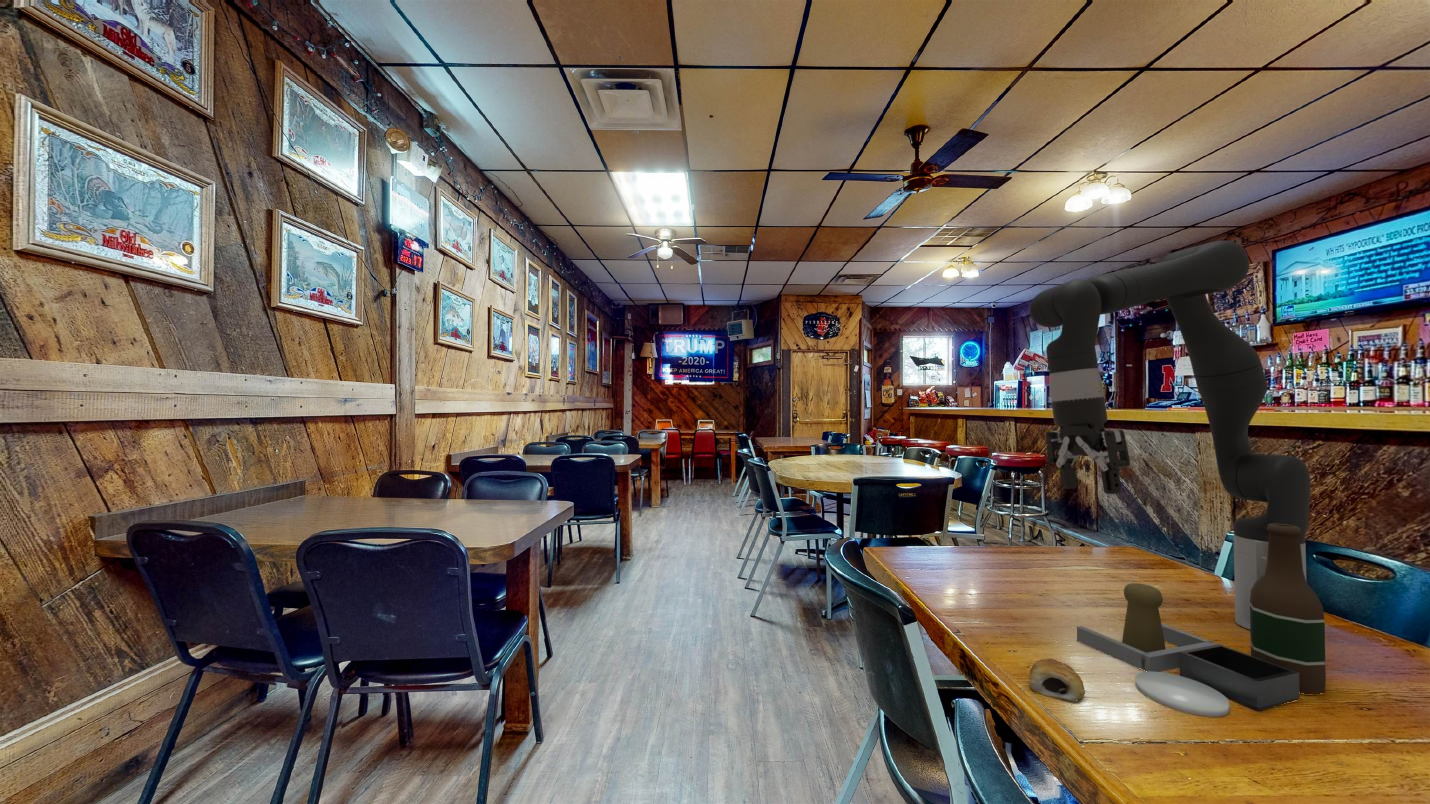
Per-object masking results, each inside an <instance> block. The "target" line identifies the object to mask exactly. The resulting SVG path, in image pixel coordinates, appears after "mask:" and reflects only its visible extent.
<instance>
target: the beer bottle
mask: <svg viewBox="0 0 1430 804" xmlns="http://www.w3.org/2000/svg"><path fill="white" fill-rule="evenodd" d="M1266 530H1267V531H1269V542H1268V556H1267V566H1266V570H1265V574H1264V575H1263V576H1262V577H1260V578H1259V579H1258V580H1257V581H1256V582H1255V584H1254V586H1253V587H1252V589H1251V594H1250V631H1249V632H1250V634H1249V636H1250V655H1251V656H1254V657H1257V658H1260V659H1262V660H1265V661H1268V662H1271V663H1274V664H1276V665H1279V666H1282V667H1285V668H1288V669H1290V670H1293V671H1296V672H1299V692H1300V693H1304V694H1320V693H1324V694H1325V693H1326V682H1327V676H1326V672H1327V671H1326V670H1327V669H1326V629H1325V628H1326V625H1325V624H1326V623H1325V612H1324V606H1323V605H1322V602H1321V600H1320V599H1319V596H1318V594H1317V593H1316V592H1315V591H1314V589H1313V588H1312V587H1311V586H1310V585H1309V583H1307V579H1306V580H1305V576H1304V572H1303V565H1302V556H1301V546H1300V537H1299V536H1301V535H1303V534H1302V532H1301V529H1300V528H1299V527H1297V526H1294V525H1288V524H1279V523H1272V524H1268V526H1267V528H1266Z"/></svg>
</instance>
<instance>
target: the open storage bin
mask: <svg viewBox="0 0 1430 804" xmlns="http://www.w3.org/2000/svg"><path fill="white" fill-rule="evenodd" d="M1178 670H1179V676H1182V677H1186V678H1189V679H1192V680H1195V681H1198V682H1200V683H1203V684H1205V685H1207V686H1209V687H1211V688H1213V689H1215V690H1217V691H1218V692H1220V693H1221V694H1223V695H1224V696H1225V697H1226V698H1227V699H1228V700H1230V701H1232V702H1235V703H1238V704H1240V705H1241V706H1244V707H1246V708H1248V709H1251V710H1253V711H1256V712H1262V711H1265V710H1269V709H1272V707H1273V708H1275V707H1274V706H1277V707H1279V706H1278V705H1281V704H1284V703H1287V702H1292V701H1294V700H1298V699H1300V698H1301V697H1300V695H1301V694H1299V672H1296V671H1293V670H1290V669H1288V668H1285V667H1282V666H1279V665H1276V664H1274V663H1271V662H1268V661H1265V660H1262V659H1260V658H1257V657H1254V656H1251V654H1248V653H1246V652H1242V651H1239V650H1237V649H1233V648H1232V647H1229V646H1225V645H1224V644H1220V643H1218V644H1217V645H1212V646H1206V647H1201V648H1196V649H1190V650H1185V651H1180V652H1179V669H1178ZM1281 706H1282V705H1281Z"/></svg>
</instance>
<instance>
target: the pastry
mask: <svg viewBox="0 0 1430 804" xmlns="http://www.w3.org/2000/svg"><path fill="white" fill-rule="evenodd" d="M1029 678H1030V680H1029V686H1030V687H1031V689H1032V691H1034V692H1035V691H1036V692H1035V693H1037V692H1039V693H1038V694H1040V693H1041V694H1040V695H1042V694H1043V695H1042V696H1045V695H1047V696H1046V697H1049V696H1050V697H1049V698H1054V697H1056V699H1060V698H1061V699H1060V700H1063V699H1065V701H1067V700H1069V701H1068V702H1077V701H1076V700H1078V701H1080V699H1081V700H1083V698H1084V695H1086V690H1085V686H1084V682H1083V680H1082V678H1081V676H1080V675H1079V674H1078V673H1077V672H1076V671H1075V669H1074V668H1073V667H1071V666H1070V665H1069V664H1067V663H1065V662H1062V661H1058V660H1057V659H1054V658H1045V659H1039V660H1036V661H1035V663H1033V664H1032V665H1031V667H1030V669H1029Z"/></svg>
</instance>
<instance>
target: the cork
mask: <svg viewBox="0 0 1430 804" xmlns="http://www.w3.org/2000/svg"><path fill="white" fill-rule="evenodd" d="M1123 596H1124V599H1125V601H1126V602H1127V606H1126V613H1125V619H1124V626H1123V633H1122V639H1121V642H1122V643H1124V644H1126V645H1129V646H1131V647H1134V648H1136V649H1138V650H1141V651H1143V652H1146V653H1149V652H1154V651H1159V650H1165V649H1167V647H1166V644H1165V642H1166V641H1164V636H1163V631H1162V625H1161V623H1162V621H1161V620H1162V619H1161V615H1160V610H1159V609H1160V607H1161V606H1162V604H1163V601H1164V599H1163V598H1164V597H1163V594H1162V592H1161V591H1160V590H1159V589H1158V588H1156V587H1154V586H1151V585H1147V584H1144V583H1134V582H1133V583H1128V584H1126V585H1125V586H1124V589H1123Z"/></svg>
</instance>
